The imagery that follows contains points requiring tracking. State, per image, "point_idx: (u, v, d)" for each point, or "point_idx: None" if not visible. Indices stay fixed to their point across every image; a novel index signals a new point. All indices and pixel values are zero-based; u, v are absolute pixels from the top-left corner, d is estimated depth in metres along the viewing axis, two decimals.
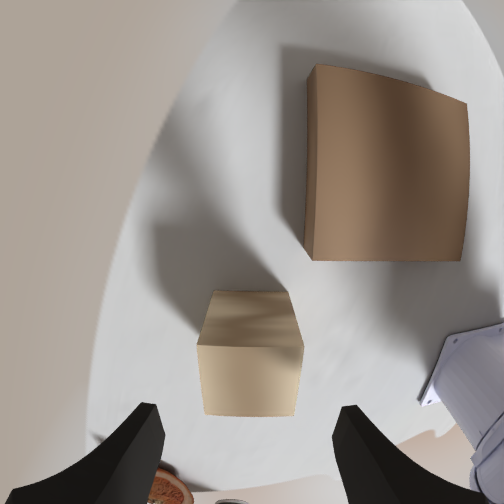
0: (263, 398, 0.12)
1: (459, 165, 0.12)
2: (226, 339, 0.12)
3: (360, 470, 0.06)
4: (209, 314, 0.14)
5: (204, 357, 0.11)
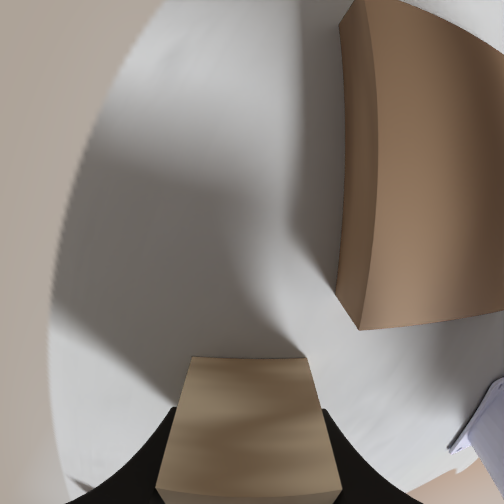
0: None
1: None
2: (206, 476, 0.05)
3: None
4: (180, 414, 0.07)
5: (171, 498, 0.05)
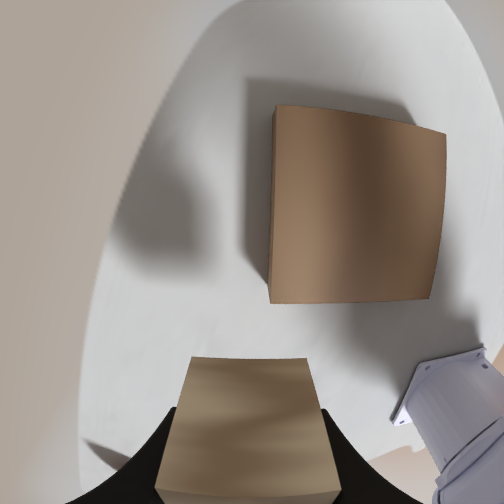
0: None
1: (432, 203, 0.13)
2: (205, 476, 0.05)
3: None
4: (180, 414, 0.07)
5: (170, 498, 0.05)
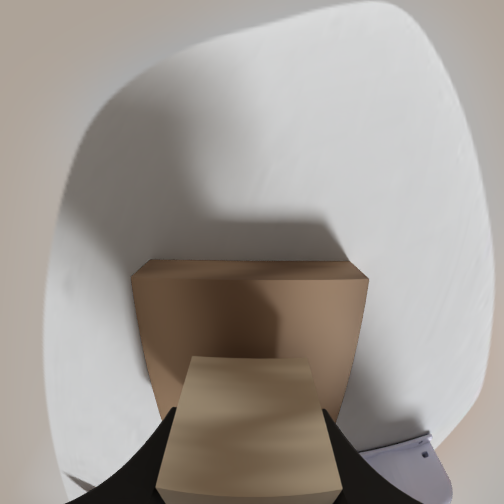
0: None
1: (334, 361, 0.12)
2: (207, 476, 0.05)
3: None
4: (180, 413, 0.07)
5: (170, 498, 0.05)
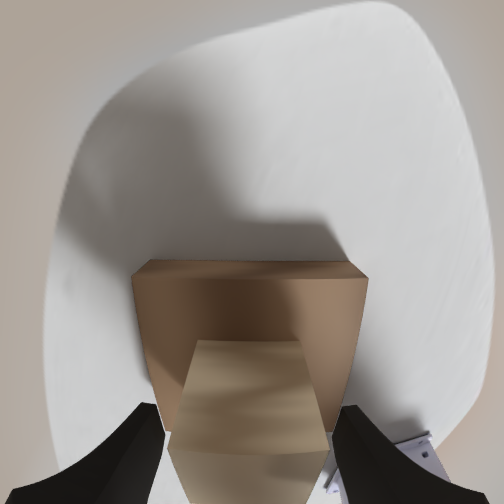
0: (266, 495, 0.07)
1: (334, 360, 0.12)
2: (212, 438, 0.07)
3: (360, 470, 0.06)
4: (188, 387, 0.09)
5: (180, 460, 0.06)
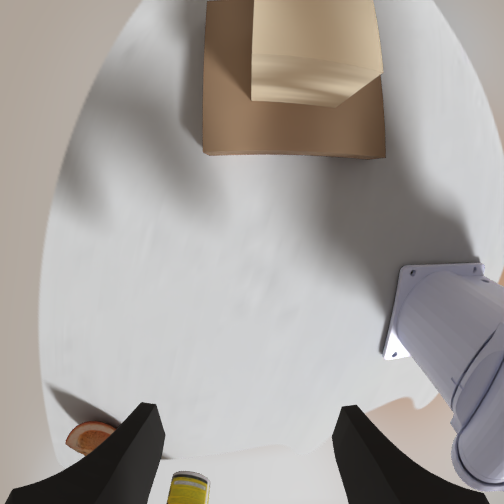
0: (338, 30, 0.07)
1: None
2: None
3: (360, 470, 0.06)
4: None
5: None
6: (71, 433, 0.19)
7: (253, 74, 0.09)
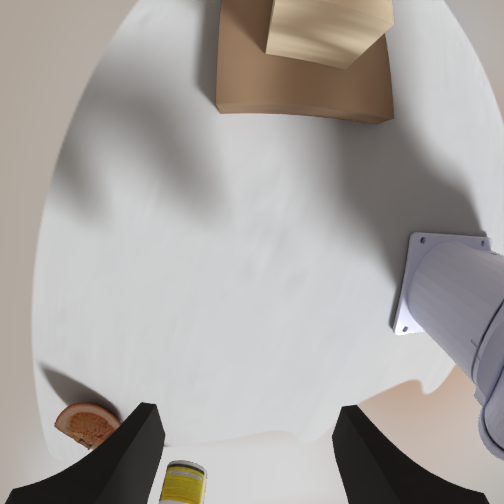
0: None
1: None
2: None
3: (360, 470, 0.06)
4: None
5: None
6: (61, 415, 0.18)
7: (273, 18, 0.08)
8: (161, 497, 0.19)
